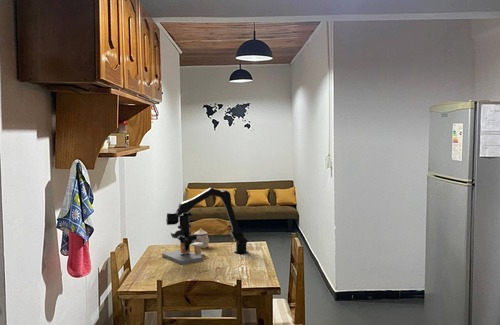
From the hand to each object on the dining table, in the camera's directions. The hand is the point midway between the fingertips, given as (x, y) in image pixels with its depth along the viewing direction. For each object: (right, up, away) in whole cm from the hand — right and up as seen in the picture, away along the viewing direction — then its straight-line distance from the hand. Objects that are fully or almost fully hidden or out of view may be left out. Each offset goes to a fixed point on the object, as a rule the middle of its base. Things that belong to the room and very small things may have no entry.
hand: (185, 250), depth 276 cm
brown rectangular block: (0, -2, 0) cm, 2 cm away
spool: (+7, -4, +6) cm, 10 cm away
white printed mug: (+7, -3, +27) cm, 28 cm away
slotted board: (-2, -5, -1) cm, 5 cm away
